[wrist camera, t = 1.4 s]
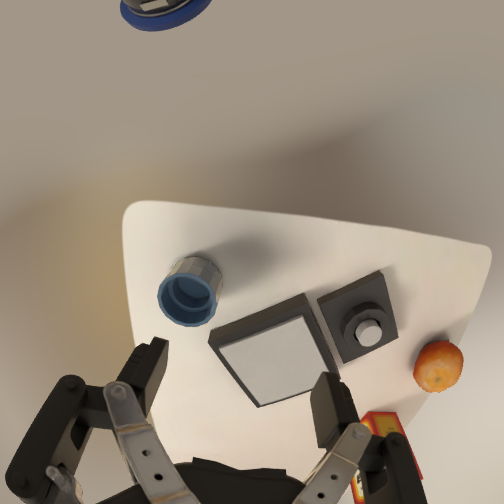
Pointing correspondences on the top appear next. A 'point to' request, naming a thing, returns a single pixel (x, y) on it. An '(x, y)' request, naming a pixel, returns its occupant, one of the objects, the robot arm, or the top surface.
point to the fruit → (438, 366)
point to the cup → (190, 292)
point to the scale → (274, 351)
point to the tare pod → (358, 314)
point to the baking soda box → (379, 426)
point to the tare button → (368, 332)
